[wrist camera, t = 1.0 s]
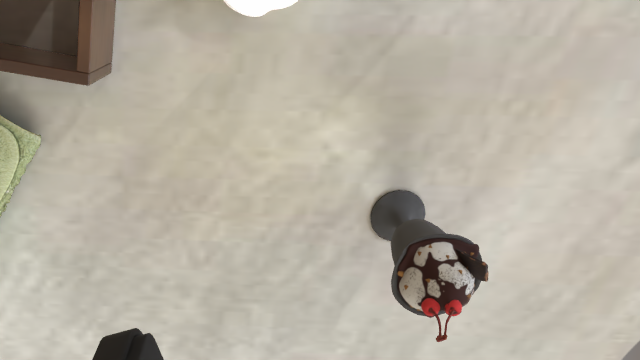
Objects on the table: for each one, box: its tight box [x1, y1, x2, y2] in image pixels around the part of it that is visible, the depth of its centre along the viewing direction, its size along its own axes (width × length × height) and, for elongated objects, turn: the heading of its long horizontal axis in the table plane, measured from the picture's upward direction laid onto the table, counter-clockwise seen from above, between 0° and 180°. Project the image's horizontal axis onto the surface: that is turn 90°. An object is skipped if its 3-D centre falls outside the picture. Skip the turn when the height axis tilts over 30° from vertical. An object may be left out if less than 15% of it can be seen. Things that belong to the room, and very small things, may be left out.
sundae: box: [371, 190, 488, 342], centre depth 37 cm, size 7×7×15 cm
